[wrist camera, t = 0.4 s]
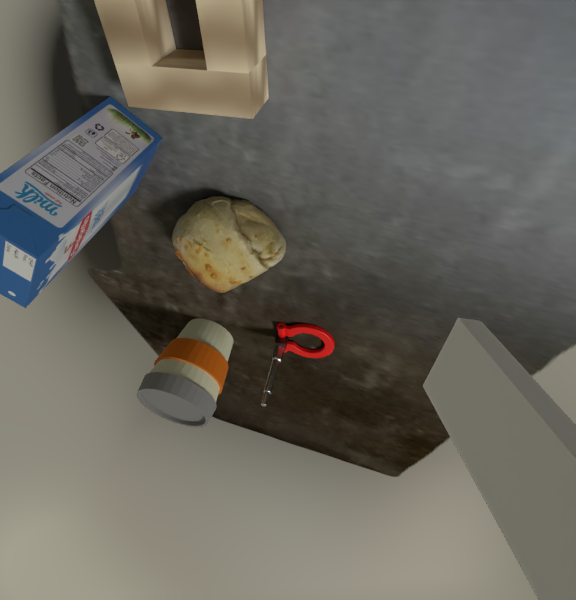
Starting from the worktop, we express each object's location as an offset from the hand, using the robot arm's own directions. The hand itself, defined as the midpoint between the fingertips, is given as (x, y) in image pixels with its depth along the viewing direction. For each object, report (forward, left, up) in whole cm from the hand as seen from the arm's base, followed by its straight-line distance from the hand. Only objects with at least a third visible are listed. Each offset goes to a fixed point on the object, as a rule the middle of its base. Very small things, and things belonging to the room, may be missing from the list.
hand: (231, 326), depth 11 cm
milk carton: (+13, -27, -30) cm, 42 cm away
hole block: (0, -15, -30) cm, 33 cm away
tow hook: (+43, -5, -30) cm, 53 cm away
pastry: (+23, -14, -30) cm, 40 cm away
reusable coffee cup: (+48, -23, -30) cm, 61 cm away
